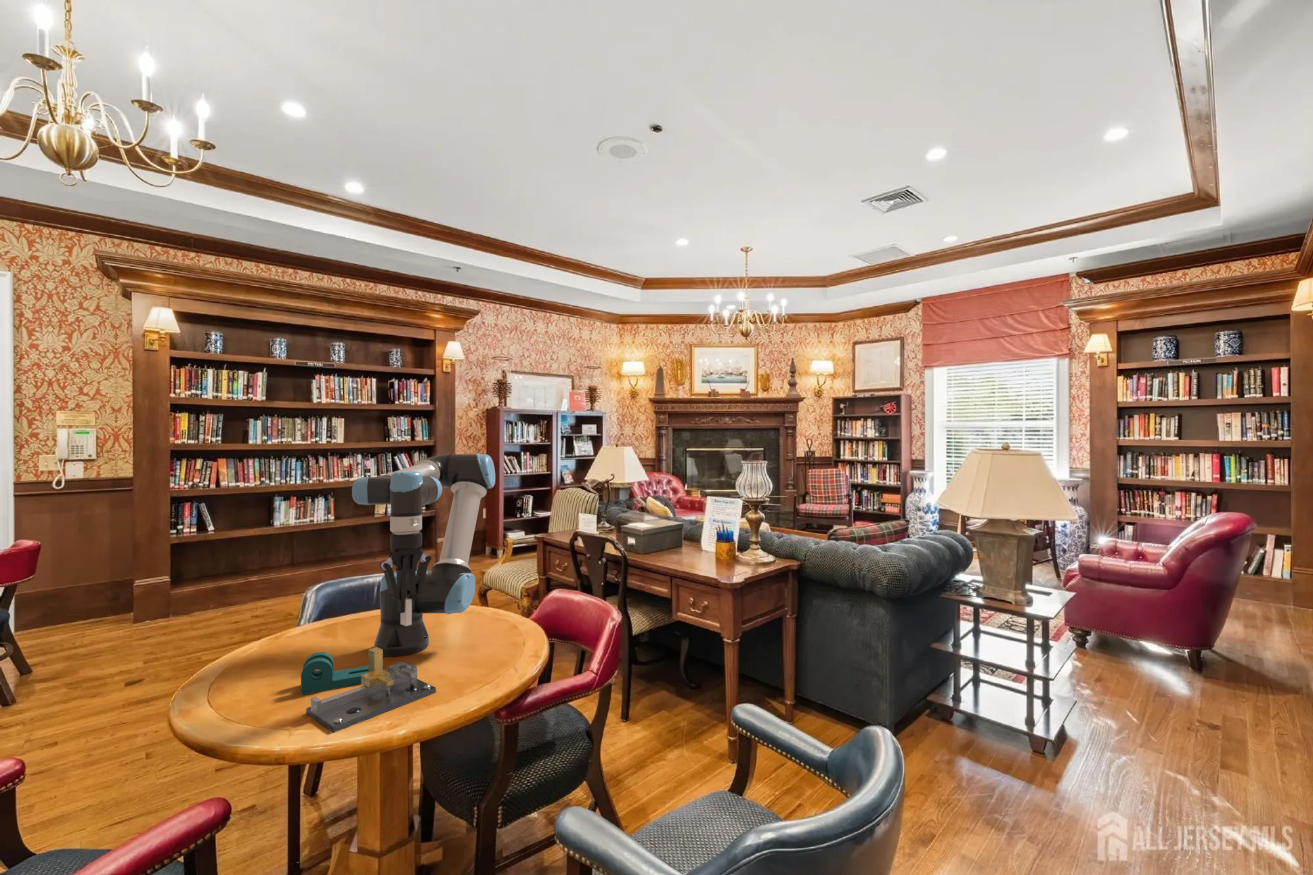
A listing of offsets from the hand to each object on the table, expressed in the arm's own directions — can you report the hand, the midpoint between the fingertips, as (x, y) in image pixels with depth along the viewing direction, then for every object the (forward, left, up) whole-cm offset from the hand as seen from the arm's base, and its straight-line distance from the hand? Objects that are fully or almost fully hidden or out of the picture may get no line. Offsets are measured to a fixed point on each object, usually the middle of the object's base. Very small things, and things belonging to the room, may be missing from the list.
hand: (406, 624), depth 145 cm
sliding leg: (+2, -8, -14) cm, 16 cm away
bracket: (-15, -9, -16) cm, 24 cm away
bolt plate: (+3, -10, -16) cm, 19 cm away
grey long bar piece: (+2, -10, -14) cm, 18 cm away
